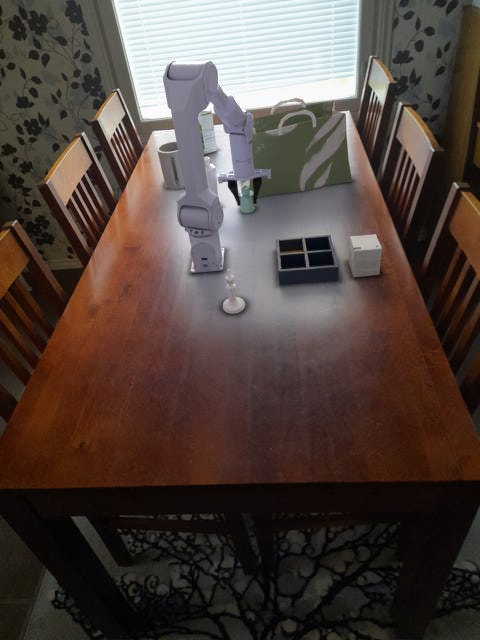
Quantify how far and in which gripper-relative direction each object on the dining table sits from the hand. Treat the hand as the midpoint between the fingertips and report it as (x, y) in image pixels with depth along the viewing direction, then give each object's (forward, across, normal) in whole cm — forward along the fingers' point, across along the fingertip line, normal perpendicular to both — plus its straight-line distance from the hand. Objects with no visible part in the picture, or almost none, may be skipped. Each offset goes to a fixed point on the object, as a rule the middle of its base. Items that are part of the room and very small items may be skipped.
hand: (247, 203), depth 131 cm
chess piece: (+2, +3, +43) cm, 43 cm away
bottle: (+2, 0, 0) cm, 2 cm away
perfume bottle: (+2, +10, -3) cm, 11 cm away
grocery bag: (+2, -15, -15) cm, 21 cm away
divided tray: (+2, -14, +30) cm, 33 cm away
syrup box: (+2, +15, -47) cm, 49 cm away
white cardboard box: (+2, -27, +33) cm, 43 cm away
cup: (+2, +23, -22) cm, 32 cm away
